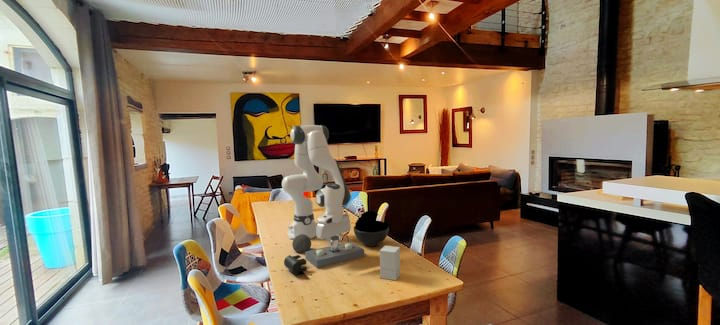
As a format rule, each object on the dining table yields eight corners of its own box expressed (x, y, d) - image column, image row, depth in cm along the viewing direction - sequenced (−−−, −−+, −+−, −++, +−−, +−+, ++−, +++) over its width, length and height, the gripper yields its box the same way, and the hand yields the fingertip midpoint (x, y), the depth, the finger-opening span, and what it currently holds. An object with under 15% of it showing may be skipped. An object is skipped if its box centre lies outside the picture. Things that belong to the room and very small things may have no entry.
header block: (305, 261, 164) (305, 248, 163) (350, 250, 178) (350, 239, 177) (317, 271, 152) (316, 257, 152) (364, 259, 166) (364, 246, 165)
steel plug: (329, 257, 166) (328, 236, 165) (336, 255, 168) (336, 234, 167) (333, 259, 162) (332, 238, 161) (341, 257, 164) (340, 237, 163)
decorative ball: (297, 249, 182) (296, 231, 181) (314, 250, 180) (313, 232, 179) (289, 255, 172) (288, 237, 171) (307, 256, 170) (307, 238, 169)
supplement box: (400, 274, 148) (400, 246, 147) (395, 280, 141) (395, 252, 140) (385, 271, 151) (385, 244, 150) (379, 278, 144) (379, 250, 143)
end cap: (284, 270, 154) (283, 256, 153) (298, 266, 158) (297, 253, 157) (292, 277, 145) (292, 263, 145) (307, 273, 150) (306, 259, 149)
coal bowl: (381, 237, 200) (380, 207, 198) (394, 248, 181) (394, 214, 179) (349, 241, 194) (349, 210, 192) (360, 252, 175) (359, 218, 173)
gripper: (344, 211, 173) (345, 237, 174) (314, 219, 158) (314, 247, 159) (353, 213, 168) (353, 239, 170) (322, 221, 154) (323, 250, 155)
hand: (334, 243), depth 164 cm, fingers open, 4 cm apart
